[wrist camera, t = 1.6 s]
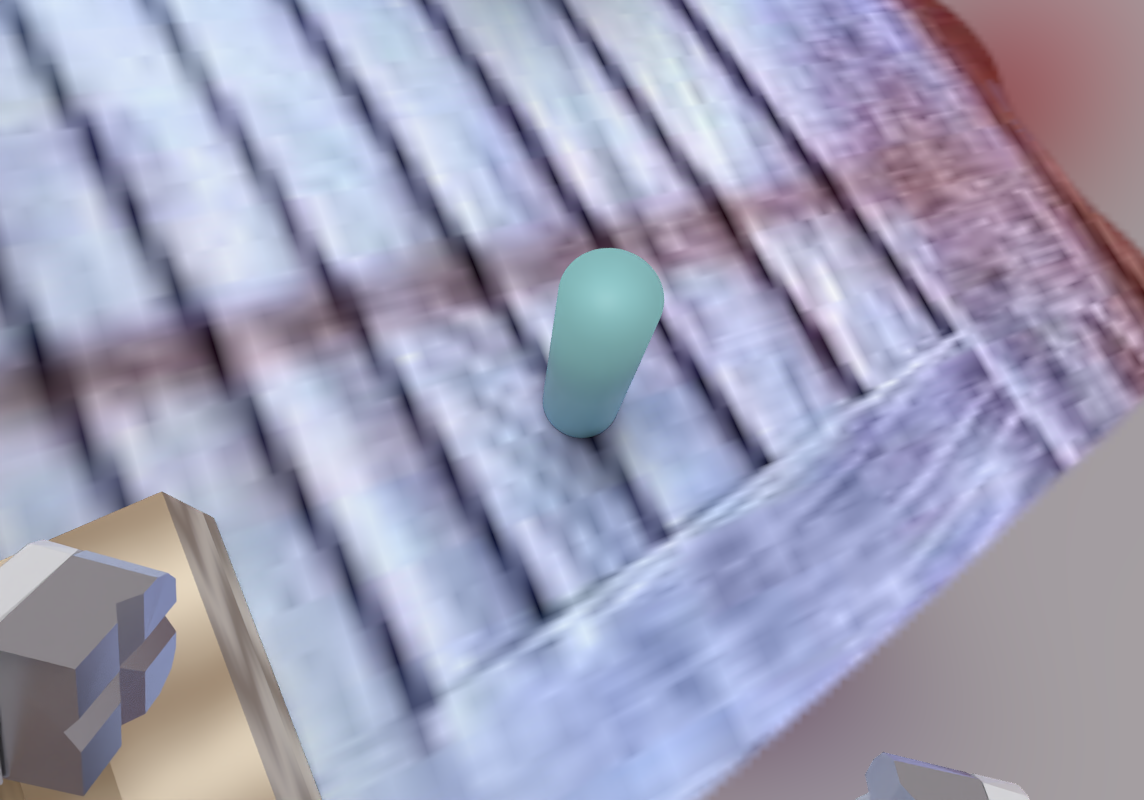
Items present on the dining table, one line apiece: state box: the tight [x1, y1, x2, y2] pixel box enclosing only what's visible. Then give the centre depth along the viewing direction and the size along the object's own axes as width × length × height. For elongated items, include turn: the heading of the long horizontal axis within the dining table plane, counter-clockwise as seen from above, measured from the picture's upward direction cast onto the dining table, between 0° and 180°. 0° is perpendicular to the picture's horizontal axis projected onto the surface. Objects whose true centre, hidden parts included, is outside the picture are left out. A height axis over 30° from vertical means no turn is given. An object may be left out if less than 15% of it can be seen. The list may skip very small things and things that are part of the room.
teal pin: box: [543, 248, 664, 438], centre depth 35 cm, size 4×4×12 cm
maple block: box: [0, 492, 322, 800], centre depth 32 cm, size 14×14×6 cm
